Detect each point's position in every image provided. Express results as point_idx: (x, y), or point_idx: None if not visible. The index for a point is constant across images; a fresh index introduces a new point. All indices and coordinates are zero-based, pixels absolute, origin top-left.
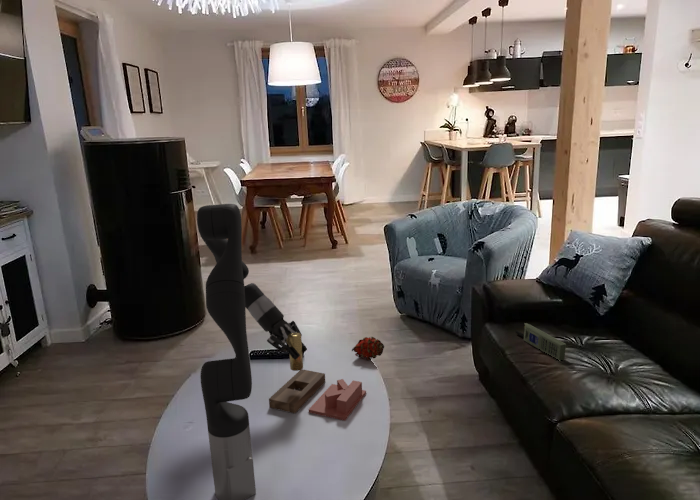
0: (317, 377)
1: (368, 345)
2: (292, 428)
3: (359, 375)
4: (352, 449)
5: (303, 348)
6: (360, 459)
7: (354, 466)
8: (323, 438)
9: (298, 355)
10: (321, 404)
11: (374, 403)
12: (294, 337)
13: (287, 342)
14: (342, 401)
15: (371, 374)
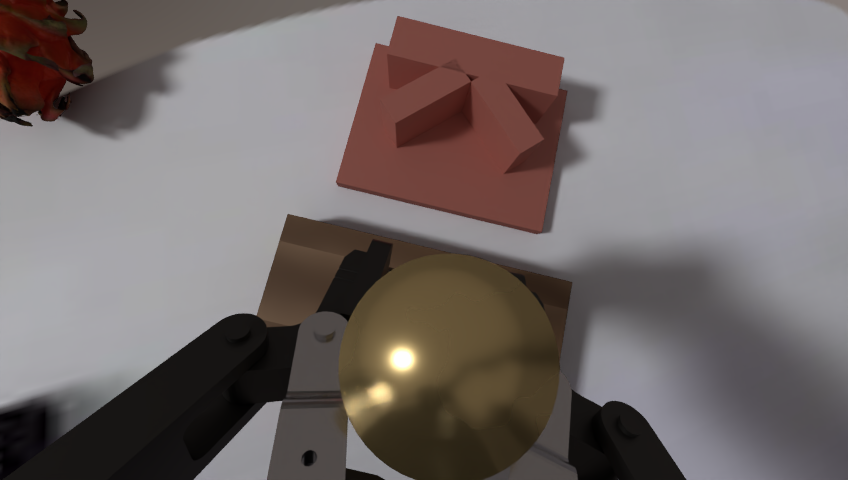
0: (328, 240)
1: (9, 10)
2: (642, 265)
3: (234, 92)
4: (696, 55)
5: (385, 268)
6: (731, 28)
7: (763, 40)
8: (668, 148)
9: (523, 276)
10: (499, 190)
11: (439, 18)
12: (539, 338)
13: (555, 429)
14: (561, 73)
15: (222, 47)
